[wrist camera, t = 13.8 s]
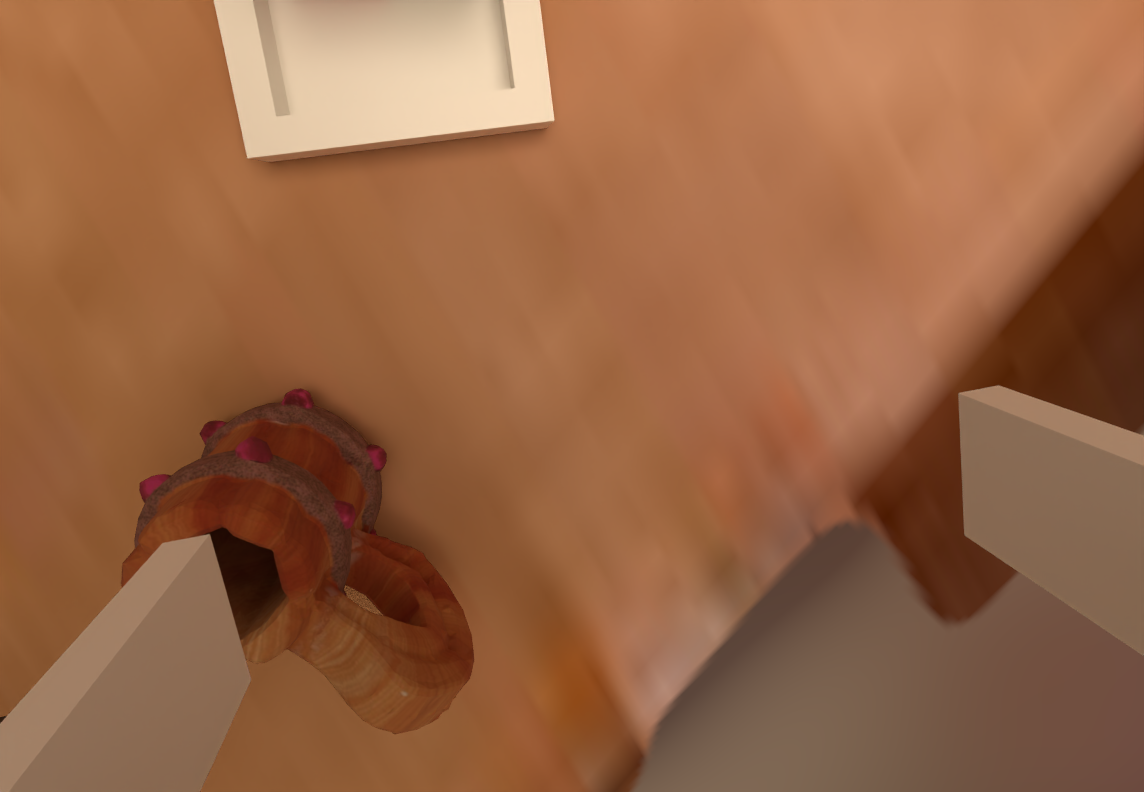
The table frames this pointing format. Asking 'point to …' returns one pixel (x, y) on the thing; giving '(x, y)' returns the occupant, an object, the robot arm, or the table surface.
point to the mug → (315, 559)
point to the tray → (382, 72)
